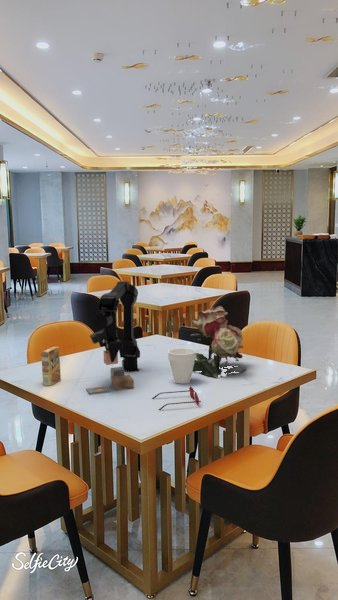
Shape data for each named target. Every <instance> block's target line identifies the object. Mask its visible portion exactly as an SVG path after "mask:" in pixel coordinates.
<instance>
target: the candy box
mask: <svg viewBox="0 0 338 600" xmlns="http://www.w3.org/2000/svg"><path fill="white" fill-rule="evenodd" d="M40 355H41V370H42V371H41V372H42V385H43V386H52V385H54V384H56V383H59V382H60V381H61V380H62V375H61V360H60V359H61V358H60V347H59V346H50V347H48V348H46V349H44V350H41V351H40Z"/></svg>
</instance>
